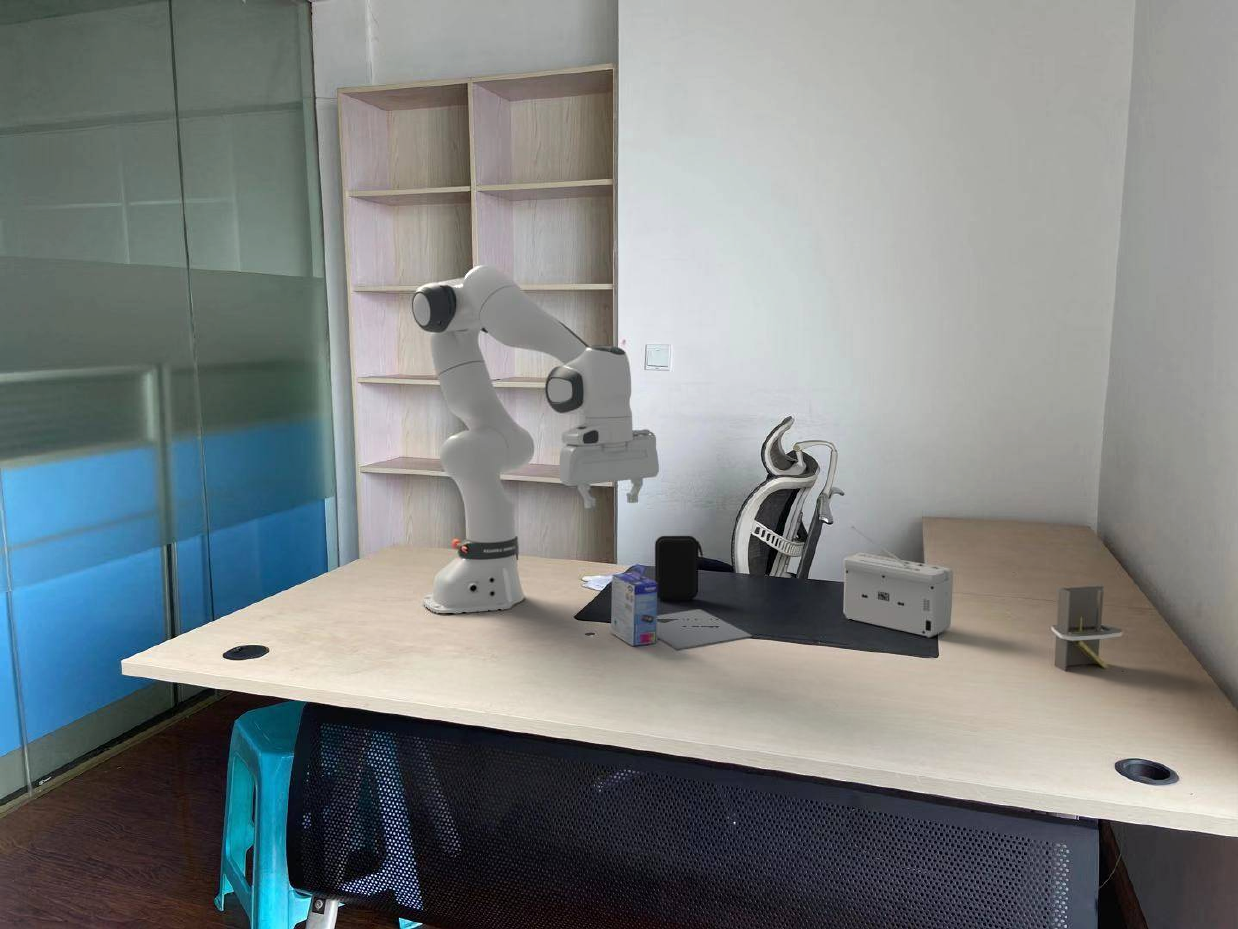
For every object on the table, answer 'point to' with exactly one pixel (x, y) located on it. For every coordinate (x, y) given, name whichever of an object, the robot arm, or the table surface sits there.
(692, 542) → the carrying case or bag
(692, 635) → the mat
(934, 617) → the stereo radio cassette player
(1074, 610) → the architectural model
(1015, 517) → the table surface
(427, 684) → the table surface
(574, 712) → the table surface
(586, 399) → the robot arm
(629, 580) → the ink cartridge box
